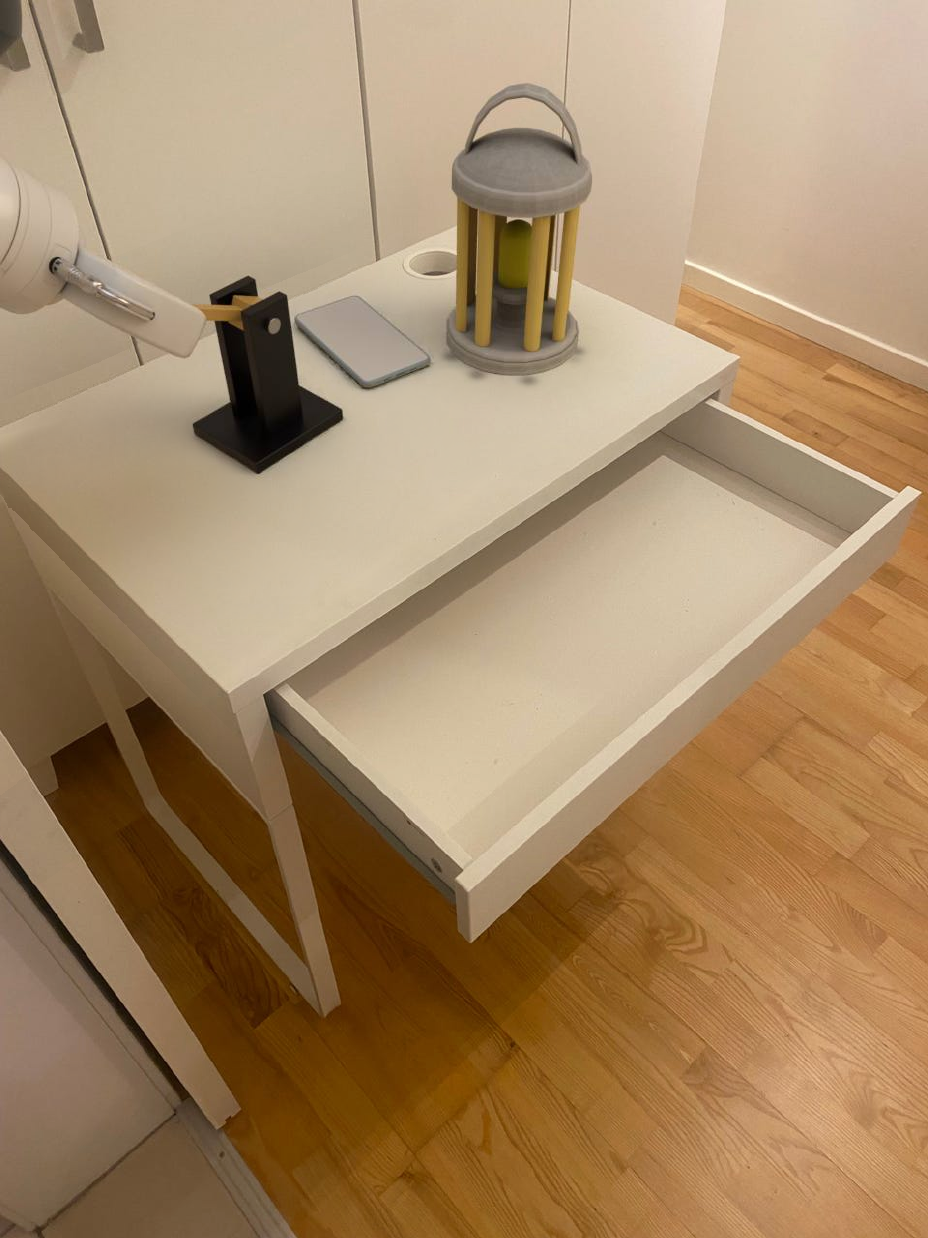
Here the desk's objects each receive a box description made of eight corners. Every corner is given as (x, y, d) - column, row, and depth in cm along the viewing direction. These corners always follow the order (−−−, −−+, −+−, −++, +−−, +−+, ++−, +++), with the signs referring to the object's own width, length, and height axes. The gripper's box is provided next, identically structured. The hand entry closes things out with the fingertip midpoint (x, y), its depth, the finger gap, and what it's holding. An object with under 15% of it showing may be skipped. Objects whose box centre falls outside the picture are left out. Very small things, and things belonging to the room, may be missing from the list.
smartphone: (365, 384, 95) (290, 315, 103) (365, 392, 96) (291, 323, 104) (434, 357, 99) (357, 292, 106) (434, 366, 99) (357, 300, 107)
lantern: (435, 367, 99) (433, 110, 80) (457, 296, 108) (460, 52, 90) (572, 381, 98) (602, 124, 79) (582, 309, 107) (612, 63, 88)
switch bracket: (258, 474, 87) (233, 340, 77) (194, 433, 91) (162, 301, 81) (343, 419, 93) (331, 287, 83) (280, 383, 97) (261, 253, 86)
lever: (165, 337, 74) (170, 307, 73) (126, 314, 76) (130, 284, 75) (279, 337, 84) (285, 310, 83) (241, 317, 86) (246, 290, 85)
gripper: (128, 247, 59) (269, 325, 71) (-52, 152, 67) (102, 236, 80) (87, 341, 60) (233, 402, 72) (-85, 236, 68) (72, 306, 81)
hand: (163, 314), depth 76 cm, fingers closed on lever, 5 cm apart
